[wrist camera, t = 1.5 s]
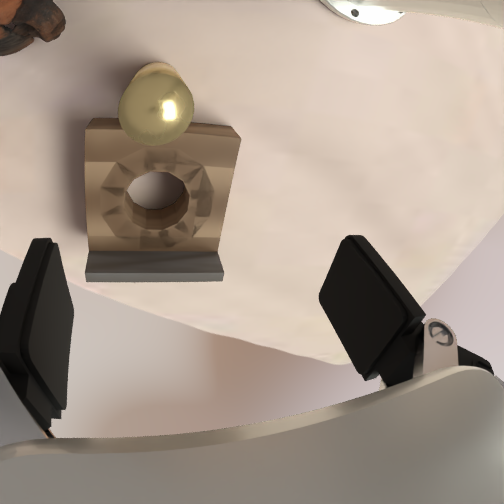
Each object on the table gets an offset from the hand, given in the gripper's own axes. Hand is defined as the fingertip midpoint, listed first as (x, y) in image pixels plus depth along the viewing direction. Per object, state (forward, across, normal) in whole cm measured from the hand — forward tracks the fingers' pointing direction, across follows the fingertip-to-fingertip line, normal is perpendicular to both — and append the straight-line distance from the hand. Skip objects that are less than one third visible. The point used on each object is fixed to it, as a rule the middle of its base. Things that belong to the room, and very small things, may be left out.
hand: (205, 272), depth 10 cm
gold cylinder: (+19, +2, -3) cm, 20 cm away
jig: (+19, +1, +6) cm, 20 cm away
